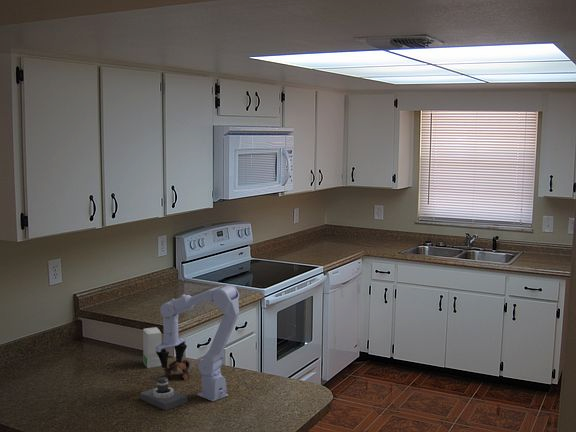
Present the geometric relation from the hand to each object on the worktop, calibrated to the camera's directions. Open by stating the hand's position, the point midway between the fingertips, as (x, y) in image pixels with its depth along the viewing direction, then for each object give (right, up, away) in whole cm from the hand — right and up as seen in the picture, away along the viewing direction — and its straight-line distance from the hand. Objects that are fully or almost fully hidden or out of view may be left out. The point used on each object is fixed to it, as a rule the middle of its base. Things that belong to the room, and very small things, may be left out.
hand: (171, 364), depth 265 cm
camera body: (-1, -11, -10) cm, 15 cm away
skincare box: (-14, -7, +30) cm, 34 cm away
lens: (-2, -9, -11) cm, 14 cm away
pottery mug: (0, -9, +15) cm, 17 cm away
